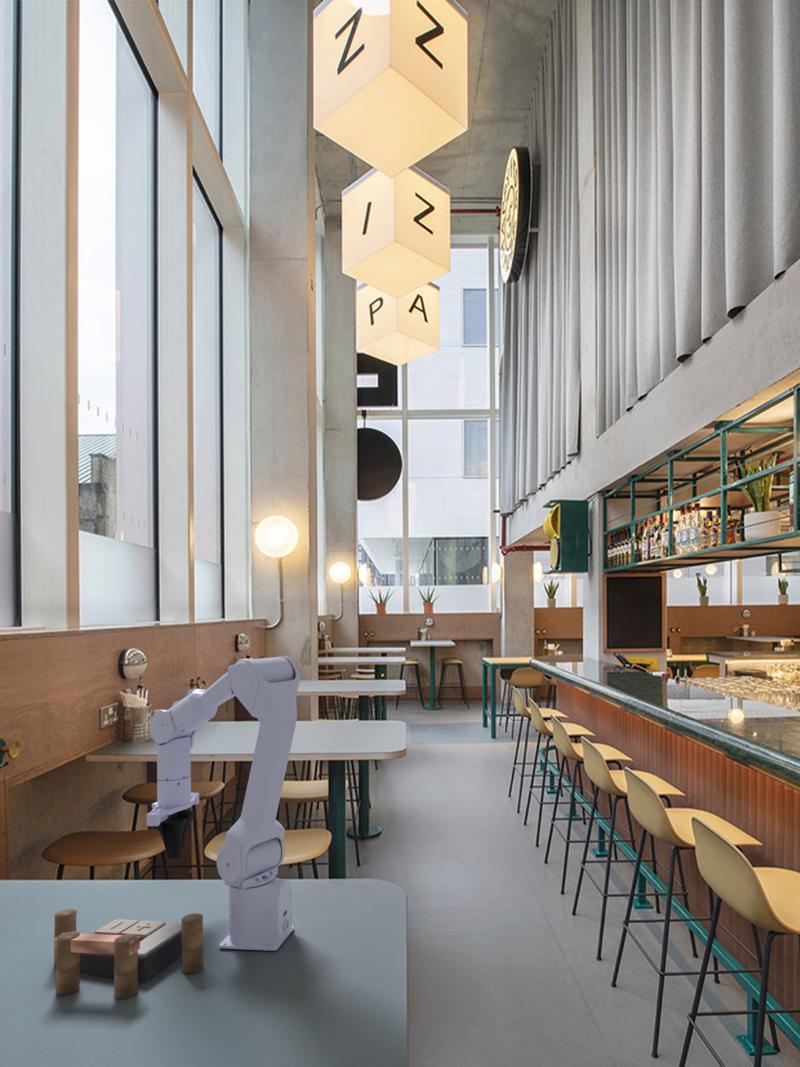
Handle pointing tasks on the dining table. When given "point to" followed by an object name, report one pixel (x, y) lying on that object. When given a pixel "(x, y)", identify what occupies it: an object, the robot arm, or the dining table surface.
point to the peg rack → (115, 953)
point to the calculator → (154, 953)
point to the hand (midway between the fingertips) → (174, 857)
